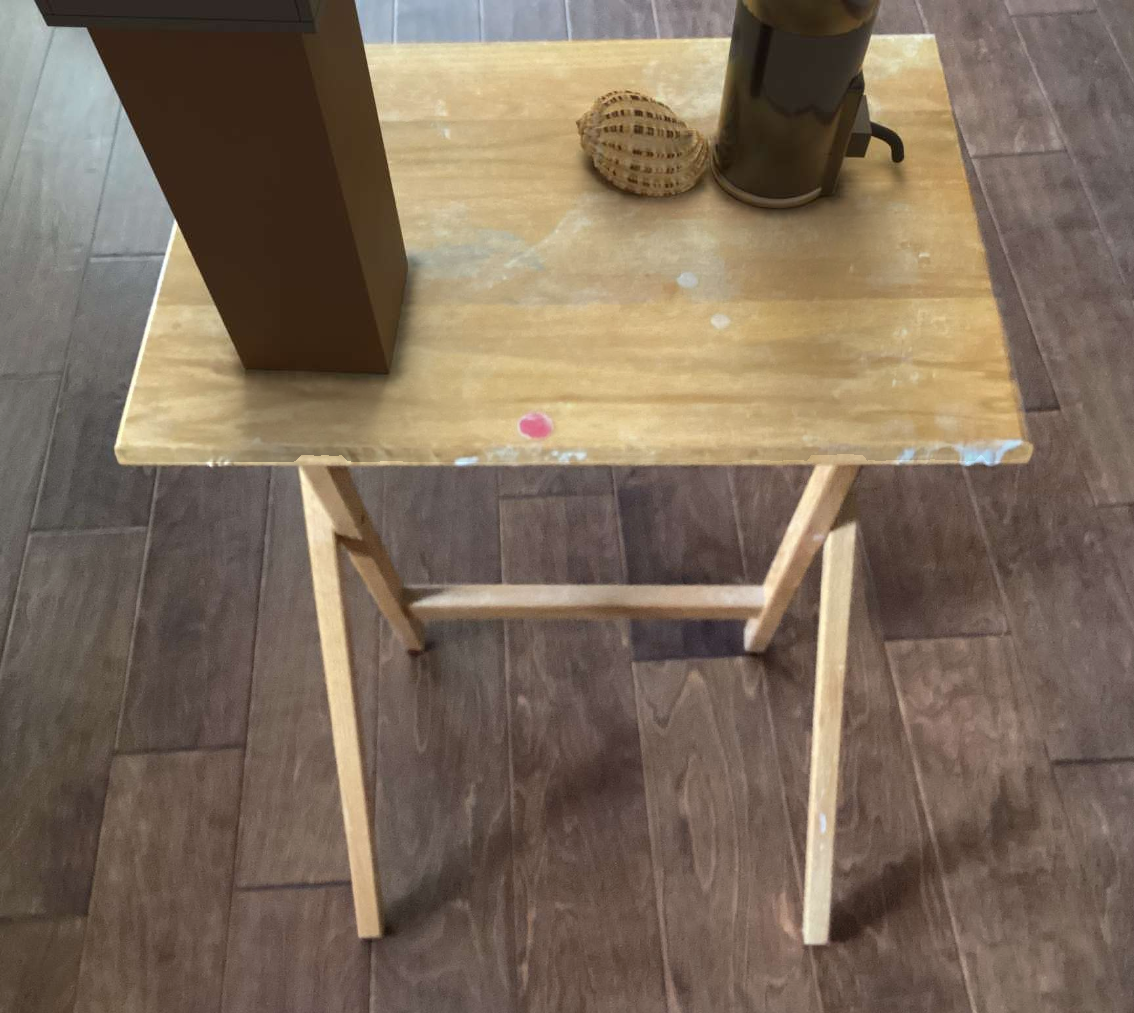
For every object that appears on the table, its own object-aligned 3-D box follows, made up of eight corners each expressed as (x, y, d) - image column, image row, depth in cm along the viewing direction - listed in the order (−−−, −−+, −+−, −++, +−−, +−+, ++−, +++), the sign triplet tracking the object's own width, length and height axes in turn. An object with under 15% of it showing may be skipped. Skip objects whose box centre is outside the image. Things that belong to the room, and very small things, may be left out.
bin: (425, 254, 72) (336, -245, 45) (403, 387, 66) (285, -96, 39) (261, 248, 73) (73, -250, 45) (224, 381, 66) (-19, -103, 39)
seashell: (668, 154, 82) (560, 123, 77) (706, 95, 77) (593, 58, 73) (689, 220, 78) (576, 192, 73) (730, 162, 73) (613, 127, 69)
